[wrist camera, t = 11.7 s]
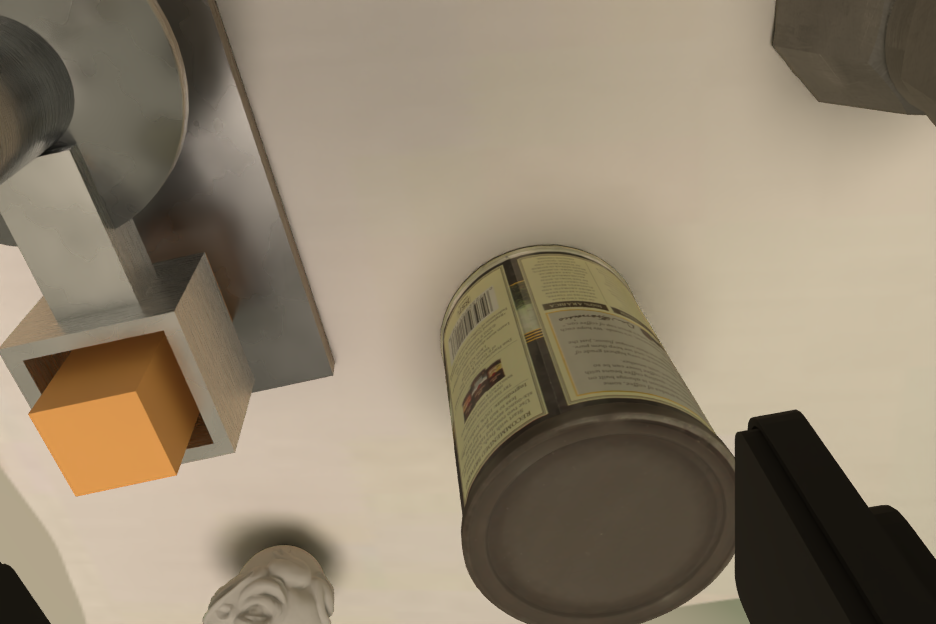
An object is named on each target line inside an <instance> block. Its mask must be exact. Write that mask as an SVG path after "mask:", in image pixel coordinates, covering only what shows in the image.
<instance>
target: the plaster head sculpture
mask: <svg viewBox="0 0 936 624" xmlns="http://www.w3.org/2000/svg"><path fill="white" fill-rule="evenodd" d="M333 612H334V589H333V586H332V585H331V583H330V582H329V581H328V579H327V578H326V576H325V575H324V572H323V570H322V568H321V566H320V564H319V563H318V562H317V560H316V559H315V558H314V557H313V556H312V555H311V554H309V553H308V552H307V551H305V550H303V549H301V548H298V547H295V546H290V545H277V546H272V547H269V548H266V549H264V550H262V551H260V552H258V553H257V554H255V555H254V556H253V557H252V558H251V559H250V560H249V561H248V562H247V563H246V564H245V565H244V567H243V568H242V570H241V571H240V573H239V575H238V576H236V577H235V578H233V579H232V580H230V581H229V582H228V583H227V584H225V585H224V586H222V587H220V588H219V589H218V590H217V591H216V593H215V595H214V596H213V597H212V598H211V602H210V604H209V607H208V611H207V612H206V613H205V615H204V617H203V624H331V621H330V619H329V617H330V616H331V615H332V614H333Z"/></svg>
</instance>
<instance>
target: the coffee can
mask: <svg viewBox="0 0 936 624" xmlns="http://www.w3.org/2000/svg"><path fill="white" fill-rule="evenodd" d="M441 354H442V358H443V362H444V366H445V374H446V384H447V391H448V399H449V407H450V415H451V423H452V431H453V439H454V450H455V458H456V467H457V474H458V483H459V491H460V500H461V507H462V515H463V517H462V526H461V538H462V549H463V556H464V560H465V564H466V568H467V570H468V572H469V575H470V577H471V579H472V580H473V582H474V584H475V585H476V587H477V588H478V589H479V590H480V591H481V593H482V594H483V595H484V596H485V597H486V598H487V599H488V600H489V601H490V602H491V603H493V604H494V605H495V606H497V607H498V608H499V609H501V610H502V611H504V612H505V613H507V614H508V615H510V616H512V617H514V618H515V619H517V620H520V621H522V622H524V623H527V624H641V623H643V622H646V621H649V620H652V619H654V618H657V617H659V616H661V615H663V614H666V613H668V612H670V611H672V610H673V609H676V608H677V607H679V606H681V605H682V604H684V603H686V602H687V601H689V600H690V599H692V598H693V597H694V596H696V595H697V594H698V593H700V592H701V591H702V590H704V589H705V588H706V587H707V586H708V585H710V584H711V583H712V582H713V581H714V580H715V579H716V578H717V577H718V576H719V574H720V573H721V572H722V571H723V570H724V568H725V567H726V566H727V565H728V563H729V562H730V561H731V559H732V557H733V555H734V554H735V457H734V456H733V455H732V453H731V452H730V451H729V449H728V448H727V447H726V445H725V444H724V443H723V442H722V440H721V439H720V438H719V437H718V436H717V435H716V434H715V432H714V430H713V429H712V427H711V425H710V424H709V422H708V420H707V419H706V417H705V415H704V414H703V412H702V410H701V408H700V407H699V405H698V403H697V402H696V400H695V399H694V397H693V395H692V394H691V392H690V390H689V389H688V387H687V386H686V384H685V382H684V381H683V379H682V377H681V376H680V374H679V373H678V371H677V369H676V368H675V366H674V365H673V363H672V361H671V359H670V358H669V356H668V354H667V353H666V351H665V350H664V348H663V346H662V344H661V343H660V341H659V339H658V338H657V336H656V334H655V333H654V331H653V329H652V328H651V326H650V324H649V323H648V321H647V320H646V318H645V316H644V315H643V313H642V311H641V310H640V308H639V306H638V305H637V303H636V302H635V299H634V297H633V294H632V292H631V290H630V288H629V287H628V285H627V283H626V281H625V280H624V279H623V278H622V276H621V275H620V274H618V273H617V272H616V271H615V270H614V269H613V268H612V267H611V266H610V265H609V264H607V263H606V262H604V261H603V260H601V259H599V258H598V257H596V256H594V255H592V254H589V253H587V252H584V251H581V250H578V249H574V248H569V247H563V246H559V245H552V246H534V247H527V248H522V249H518V250H515V251H512V252H509V253H506V254H504V255H501V256H499V257H497V258H495V259H493V260H492V261H490V262H488V263H487V264H485V265H483V266H481V267H480V268H479V269H478V270H477V271H476V272H475V273H474V274H472V275H471V276H470V277H469V278H468V279H467V280H466V281H465V282H464V284H463V285H462V286H461V287H460V288H459V290H458V291H457V292H456V294H455V295H454V297H453V299H452V301H451V302H450V304H449V306H448V309H447V311H446V313H445V317H444V320H443V324H442V327H441Z"/></svg>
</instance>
